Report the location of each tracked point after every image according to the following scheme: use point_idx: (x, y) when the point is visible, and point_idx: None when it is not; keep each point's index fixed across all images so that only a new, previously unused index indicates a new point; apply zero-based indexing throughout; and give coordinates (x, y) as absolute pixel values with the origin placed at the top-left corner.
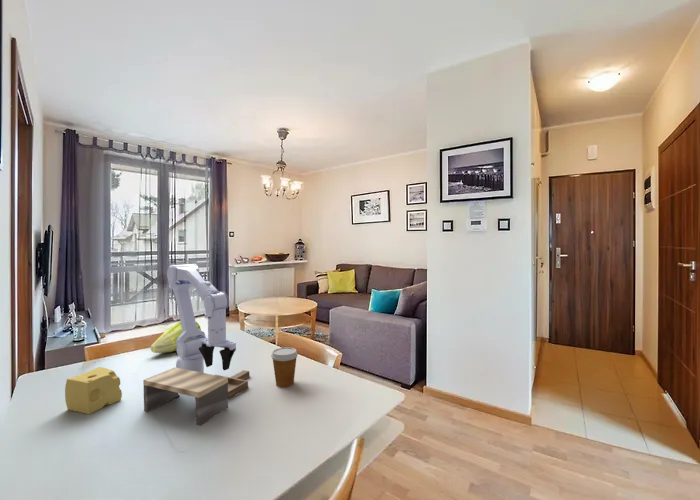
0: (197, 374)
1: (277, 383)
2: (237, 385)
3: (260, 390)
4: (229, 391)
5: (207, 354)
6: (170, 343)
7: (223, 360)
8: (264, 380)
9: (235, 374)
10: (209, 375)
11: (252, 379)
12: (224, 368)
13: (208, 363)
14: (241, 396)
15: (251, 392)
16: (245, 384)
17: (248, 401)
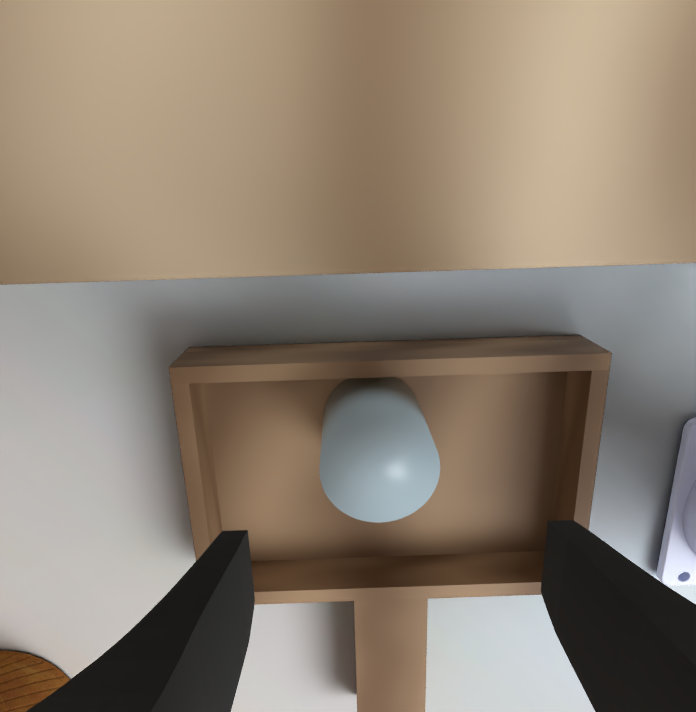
0: (391, 176)
1: (12, 672)
2: (297, 547)
3: (88, 563)
4: (173, 393)
5: (668, 704)
6: None
7: (154, 636)
8: None
9: (423, 659)
10: (150, 231)
11: (295, 669)
12: (210, 545)
13: (567, 570)
14: (137, 436)
15: (123, 514)
16: None
17: (14, 395)
